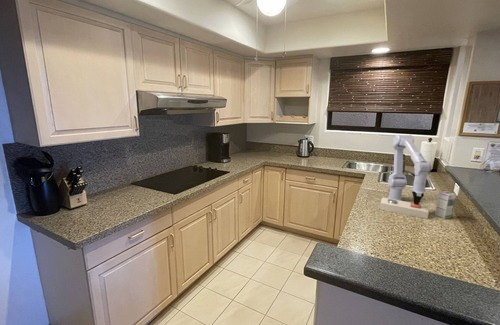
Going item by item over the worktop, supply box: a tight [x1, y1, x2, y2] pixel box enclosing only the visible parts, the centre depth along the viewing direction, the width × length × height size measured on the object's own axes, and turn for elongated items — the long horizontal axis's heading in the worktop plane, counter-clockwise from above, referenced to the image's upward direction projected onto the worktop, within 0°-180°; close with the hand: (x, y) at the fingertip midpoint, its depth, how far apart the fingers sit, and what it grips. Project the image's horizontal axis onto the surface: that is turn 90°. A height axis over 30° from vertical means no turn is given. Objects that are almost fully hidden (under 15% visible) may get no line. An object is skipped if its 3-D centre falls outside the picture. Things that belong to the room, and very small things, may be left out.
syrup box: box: [434, 190, 457, 219], centre depth 140 cm, size 6×6×14 cm
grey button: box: [388, 199, 397, 204], centre depth 152 cm, size 5×5×5 cm
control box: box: [379, 197, 430, 220], centre depth 149 cm, size 12×24×4 cm, turn 58°
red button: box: [411, 202, 422, 208], centre depth 145 cm, size 5×5×5 cm
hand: (415, 204), depth 145 cm, fingers closed, pressing on red button
